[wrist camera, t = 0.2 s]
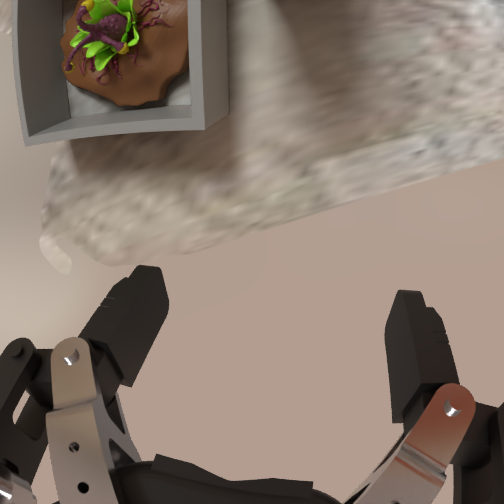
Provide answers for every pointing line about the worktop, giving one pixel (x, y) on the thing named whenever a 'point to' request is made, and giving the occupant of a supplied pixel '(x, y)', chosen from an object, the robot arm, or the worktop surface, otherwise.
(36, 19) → the grey open bin
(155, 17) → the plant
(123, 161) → the worktop surface
